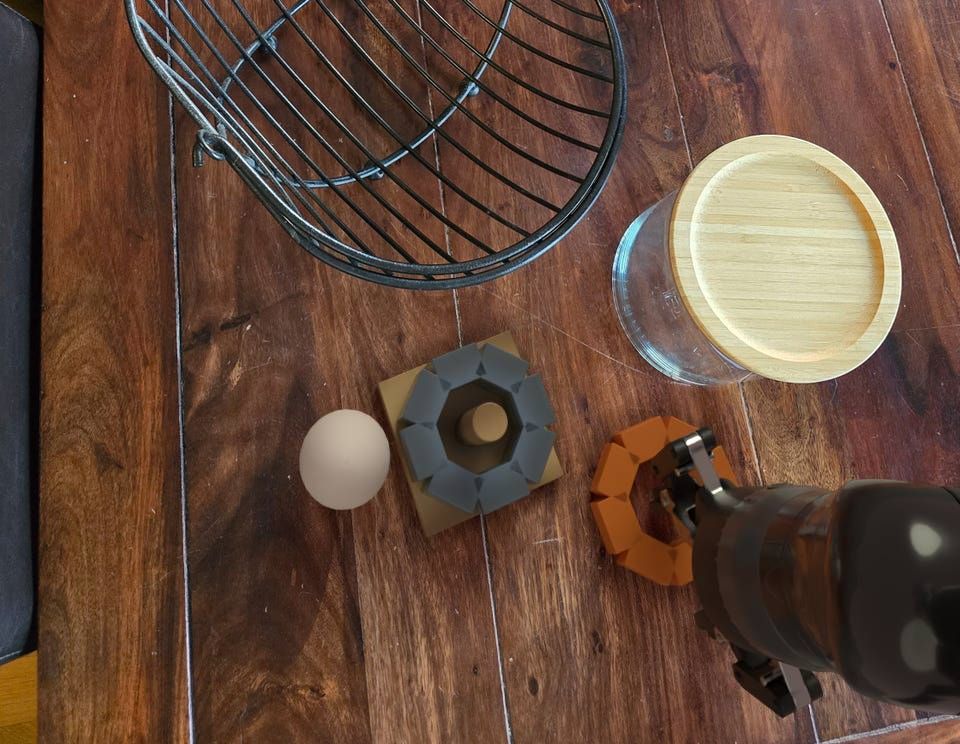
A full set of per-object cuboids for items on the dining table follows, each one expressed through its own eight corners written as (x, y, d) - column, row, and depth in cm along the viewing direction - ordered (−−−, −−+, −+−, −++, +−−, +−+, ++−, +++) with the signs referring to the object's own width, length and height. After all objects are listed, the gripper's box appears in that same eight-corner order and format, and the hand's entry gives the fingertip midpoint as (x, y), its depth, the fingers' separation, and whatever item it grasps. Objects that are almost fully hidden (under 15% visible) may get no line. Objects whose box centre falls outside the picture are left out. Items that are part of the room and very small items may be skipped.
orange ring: (752, 543, 71) (764, 544, 69) (627, 606, 69) (636, 608, 67) (691, 399, 75) (701, 397, 73) (570, 453, 72) (577, 452, 70)
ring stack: (560, 475, 71) (594, 473, 63) (425, 537, 69) (443, 542, 61) (506, 332, 75) (532, 312, 67) (376, 384, 72) (387, 371, 64)
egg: (402, 449, 71) (414, 444, 64) (349, 529, 68) (355, 532, 62) (335, 394, 72) (340, 384, 65) (280, 471, 69) (280, 468, 63)
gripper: (662, 449, 57) (584, 459, 71) (798, 782, 51) (683, 718, 66) (789, 390, 59) (688, 412, 74) (933, 703, 53) (793, 659, 68)
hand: (686, 556), depth 70 cm, fingers open, 5 cm apart
